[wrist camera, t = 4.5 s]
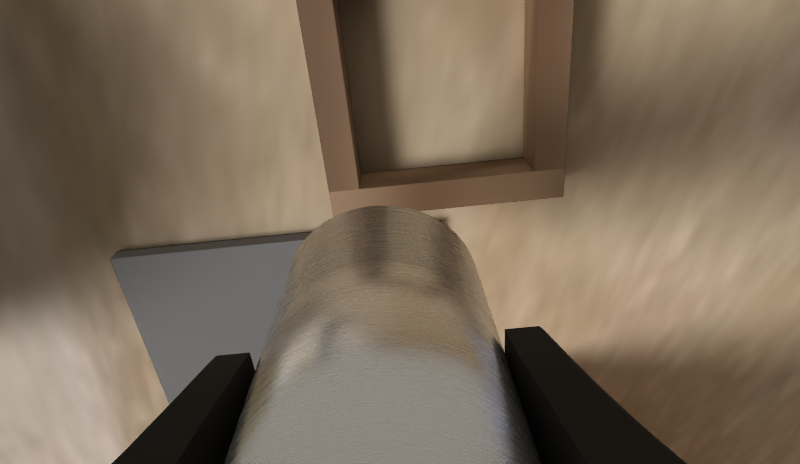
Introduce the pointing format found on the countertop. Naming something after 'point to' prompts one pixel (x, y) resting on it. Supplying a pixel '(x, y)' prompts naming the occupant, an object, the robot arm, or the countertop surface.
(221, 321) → the rubber mat
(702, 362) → the countertop surface
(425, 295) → the steel peg
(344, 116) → the square wooden frame
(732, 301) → the countertop surface
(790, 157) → the countertop surface
